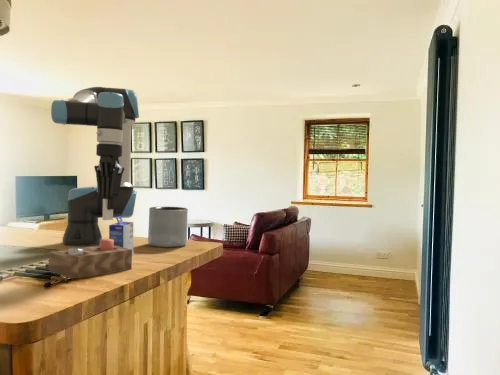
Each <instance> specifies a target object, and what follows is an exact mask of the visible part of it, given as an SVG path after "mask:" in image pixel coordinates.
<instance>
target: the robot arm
mask: <svg viewBox="0 0 500 375" xmlns="http://www.w3.org/2000/svg"><path fill="white" fill-rule="evenodd" d="M50 106H51V107H50V111H51V112H50V115H51V120H52V121H53V123H54V124H59V125H60V124H61V125H64V126H65V125H72V126H73V125H74V126H75V125H76V126H89V127H90V126H91V127H96V142H97V144H96V148H95V149H96V156H97V157H99V161H98V165H94V171H95V175H96V185H97V186H95V185H94V186H85V187H83V186H82V187H76V188H75V187H74V188H72V189H70V190H69V191H68V195H67V196H68V197H67V225H66V228H65V230H64V233H63V236H62V240H61V241H62V242H61V243H62V244H63V245H66V246H75V247H76V246H77V247H79V246H80V247H81V246H82V247H83V246H84V247H85V246H86V247H88V246H94V245H95V246H97V245H100V240H102V239H103V236H102V232H101V230H100V226H99V219H100V218H101V219H102V221H111V220H112V221H113V220H114V219H116V217H118V216H120V217H121V219H128V218H131V217H133V215H134V211H135V207H136V201H137V200H136V199H137V194H138V192H137V190H136V189H134V185H133V184H132V183H131V156H132V153H131V152H132V151H131V150H132V144H131V143H132V126H133V125H134V124H135V123H136V119H139V117H140V114H139V113H140V112H139V104H138V95H137V92H136V91H135V90H133V89H128V88H119V87H118V88H117V87H107V86H106V87H103V86H92V87H87V88H83V89H81V90H79V91H77V92H75V93H74V94H73V97H72V98H70V99H69V100H64V99H61V100H60V99H59V100H57V99H56V100H53V101H52V102H51V105H50Z"/></svg>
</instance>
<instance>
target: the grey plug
mask: <svg viewBox="0 0 500 375" xmlns="http://www.w3.org/2000/svg"><path fill="white" fill-rule="evenodd" d="M83 248H84V247H73V248H71V247H70V248H68V249H69V250H68V249H67V250H68V254H70V255H77V254H83Z"/></svg>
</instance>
